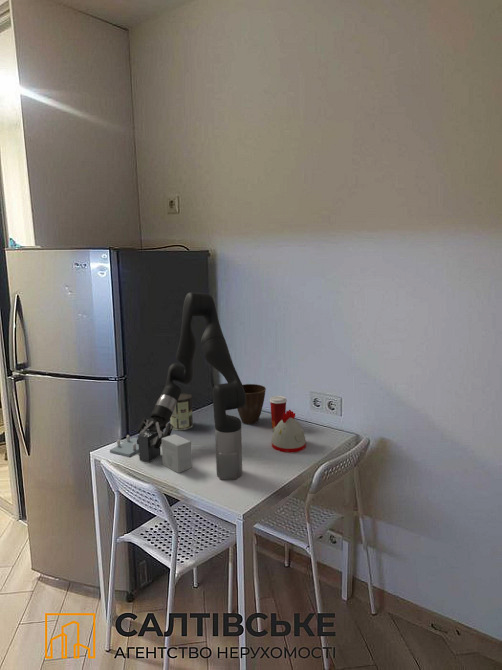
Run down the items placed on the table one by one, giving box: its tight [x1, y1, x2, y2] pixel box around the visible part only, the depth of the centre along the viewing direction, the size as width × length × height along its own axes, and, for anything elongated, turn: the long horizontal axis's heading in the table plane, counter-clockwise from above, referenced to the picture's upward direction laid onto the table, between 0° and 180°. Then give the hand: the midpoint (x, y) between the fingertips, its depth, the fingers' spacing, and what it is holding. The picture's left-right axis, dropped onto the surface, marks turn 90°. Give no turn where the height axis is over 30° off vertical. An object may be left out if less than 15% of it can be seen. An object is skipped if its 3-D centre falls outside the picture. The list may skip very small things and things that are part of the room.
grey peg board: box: [109, 434, 139, 458], centre depth 190 cm, size 14×10×4 cm
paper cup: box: [269, 395, 288, 429], centre depth 208 cm, size 8×8×14 cm
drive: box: [137, 429, 162, 463], centre depth 180 cm, size 7×5×10 cm
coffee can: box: [169, 392, 194, 431], centre depth 212 cm, size 10×10×14 cm
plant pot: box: [237, 383, 267, 425], centre depth 216 cm, size 15×15×16 cm
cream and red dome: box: [271, 409, 307, 453], centre depth 189 cm, size 14×14×15 cm
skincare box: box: [161, 433, 193, 474], centre depth 173 cm, size 10×6×10 cm, turn 44°
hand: (147, 446), depth 179 cm, fingers open, 8 cm apart
